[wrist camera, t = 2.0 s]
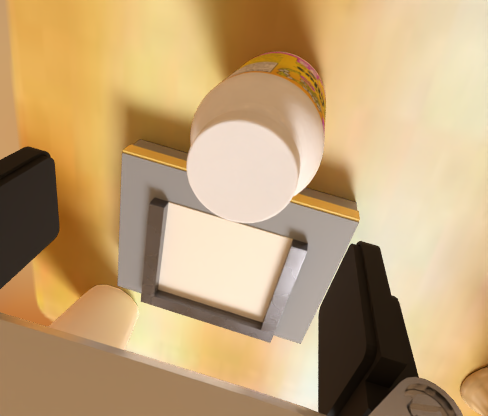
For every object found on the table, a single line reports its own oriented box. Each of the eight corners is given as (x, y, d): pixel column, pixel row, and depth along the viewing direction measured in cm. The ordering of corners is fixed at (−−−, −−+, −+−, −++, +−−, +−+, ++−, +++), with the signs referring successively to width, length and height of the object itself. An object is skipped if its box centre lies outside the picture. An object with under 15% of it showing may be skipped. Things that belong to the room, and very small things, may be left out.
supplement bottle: (332, 135, 26) (335, 236, 15) (245, 151, 28) (193, 251, 17) (317, 36, 23) (306, 73, 12) (220, 62, 25) (138, 114, 14)
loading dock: (357, 200, 28) (359, 221, 25) (302, 319, 36) (300, 344, 33) (140, 137, 29) (121, 151, 27) (132, 265, 37) (117, 286, 34)
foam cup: (74, 319, 43) (-12, 429, 32) (72, 262, 38) (-31, 370, 27) (148, 344, 43) (86, 464, 32) (156, 290, 38) (86, 411, 27)
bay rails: (307, 243, 27) (307, 251, 27) (271, 333, 33) (270, 342, 32) (154, 197, 28) (149, 203, 27) (145, 293, 34) (140, 301, 33)
